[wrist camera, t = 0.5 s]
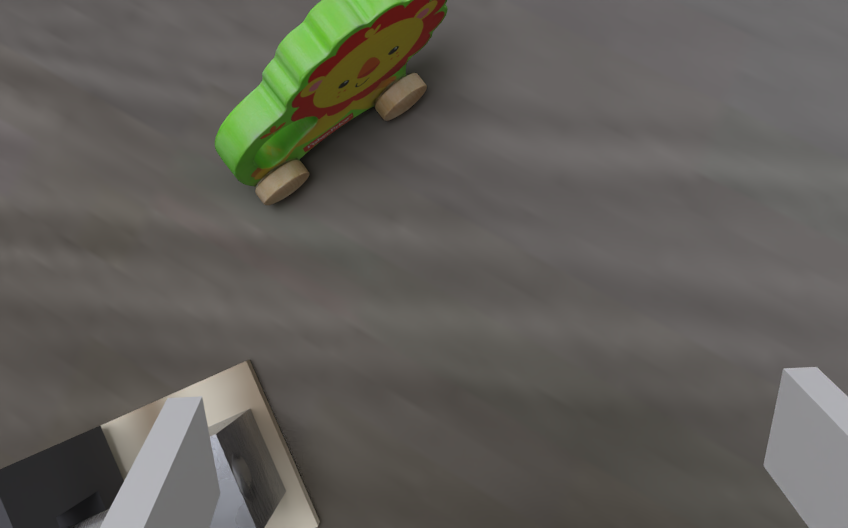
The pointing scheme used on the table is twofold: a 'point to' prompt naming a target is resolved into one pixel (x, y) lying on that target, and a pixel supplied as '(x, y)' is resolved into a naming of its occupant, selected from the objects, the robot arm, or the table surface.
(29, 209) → the table surface
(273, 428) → the board
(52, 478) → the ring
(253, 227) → the table surface
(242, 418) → the pipe
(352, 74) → the toy lion
